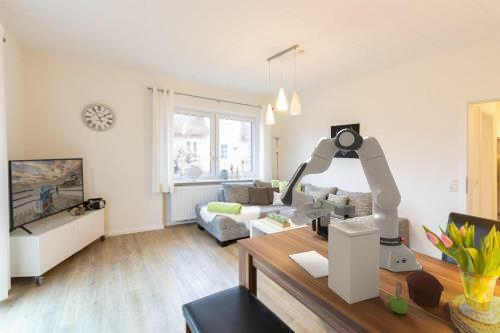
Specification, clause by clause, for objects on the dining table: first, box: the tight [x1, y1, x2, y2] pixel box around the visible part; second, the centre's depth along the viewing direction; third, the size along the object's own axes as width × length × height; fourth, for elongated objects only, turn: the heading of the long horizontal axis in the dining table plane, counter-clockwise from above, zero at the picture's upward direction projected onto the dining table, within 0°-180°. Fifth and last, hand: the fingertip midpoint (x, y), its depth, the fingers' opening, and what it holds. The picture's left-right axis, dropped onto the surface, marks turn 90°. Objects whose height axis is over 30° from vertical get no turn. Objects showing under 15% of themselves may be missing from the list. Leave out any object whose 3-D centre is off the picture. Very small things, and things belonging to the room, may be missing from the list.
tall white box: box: [327, 220, 380, 305], centre depth 92 cm, size 12×14×26 cm
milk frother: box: [311, 212, 332, 237], centre depth 155 cm, size 14×16×15 cm
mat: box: [288, 250, 328, 280], centre depth 116 cm, size 24×16×1 cm, turn 20°
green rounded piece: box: [388, 281, 409, 315], centre depth 80 cm, size 5×6×12 cm
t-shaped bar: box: [316, 198, 356, 216], centre depth 103 cm, size 18×8×3 cm, turn 20°
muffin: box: [405, 270, 445, 309], centre depth 86 cm, size 12×11×10 cm
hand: (325, 202), depth 107 cm, fingers closed on t-shaped bar, 3 cm apart
